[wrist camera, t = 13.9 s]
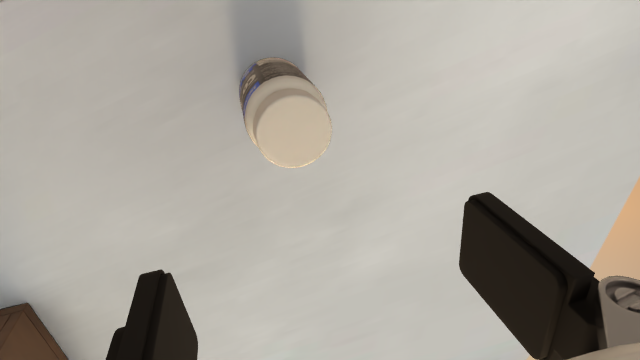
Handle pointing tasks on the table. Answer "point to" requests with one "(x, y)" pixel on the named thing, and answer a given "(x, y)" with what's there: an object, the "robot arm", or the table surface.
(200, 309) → the table surface
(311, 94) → the pill bottle
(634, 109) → the table surface
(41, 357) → the chest
